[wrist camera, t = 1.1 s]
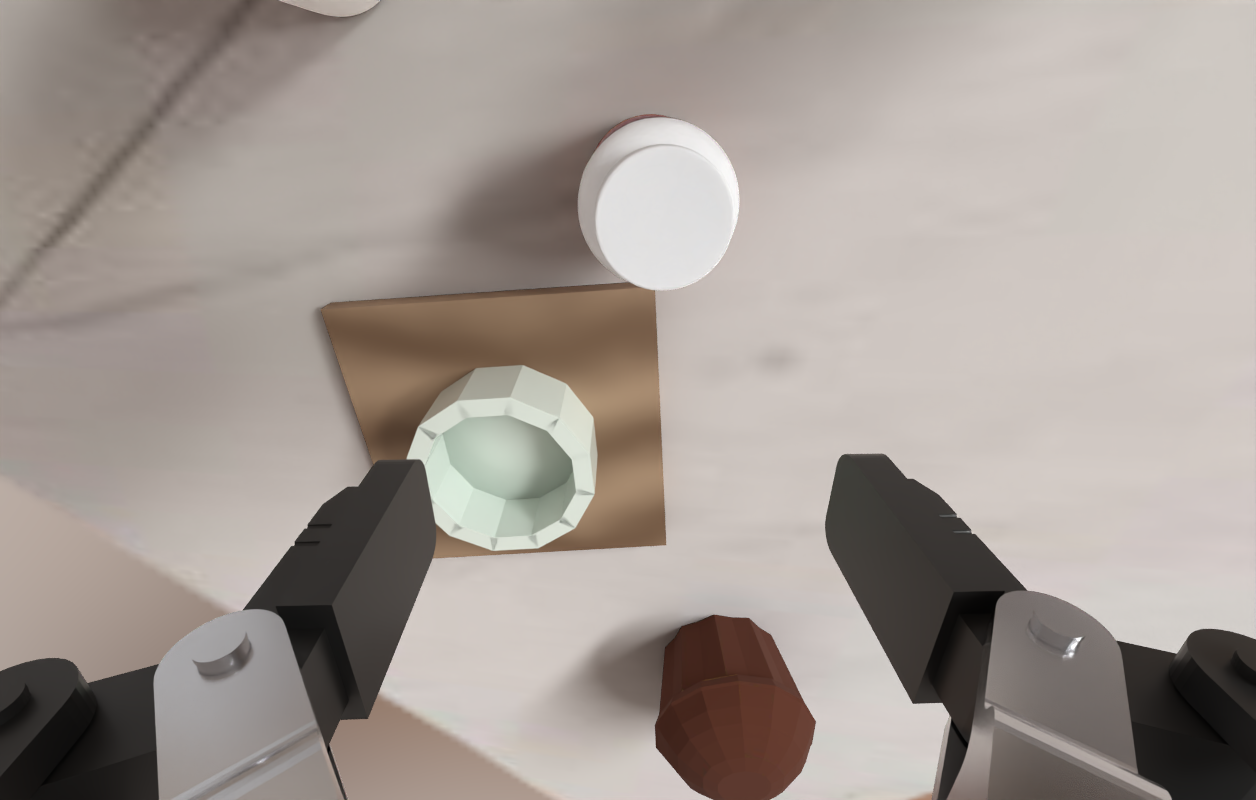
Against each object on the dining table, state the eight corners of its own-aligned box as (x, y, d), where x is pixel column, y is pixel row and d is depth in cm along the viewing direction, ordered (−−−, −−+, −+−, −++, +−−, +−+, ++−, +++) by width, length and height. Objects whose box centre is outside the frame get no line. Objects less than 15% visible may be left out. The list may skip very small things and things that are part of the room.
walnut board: (330, 302, 30) (320, 309, 29) (653, 280, 30) (654, 287, 29) (411, 547, 39) (405, 559, 38) (664, 533, 38) (666, 544, 37)
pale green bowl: (412, 372, 31) (385, 405, 28) (587, 360, 31) (582, 392, 27) (450, 510, 36) (431, 554, 32) (602, 501, 35) (600, 544, 32)
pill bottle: (566, 150, 27) (534, 170, 17) (682, 90, 26) (719, 75, 16) (619, 264, 30) (618, 338, 20) (727, 215, 28) (782, 267, 19)
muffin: (625, 631, 43) (626, 765, 34) (756, 582, 41) (794, 712, 32) (687, 713, 48) (703, 849, 39) (808, 674, 46) (853, 808, 37)
